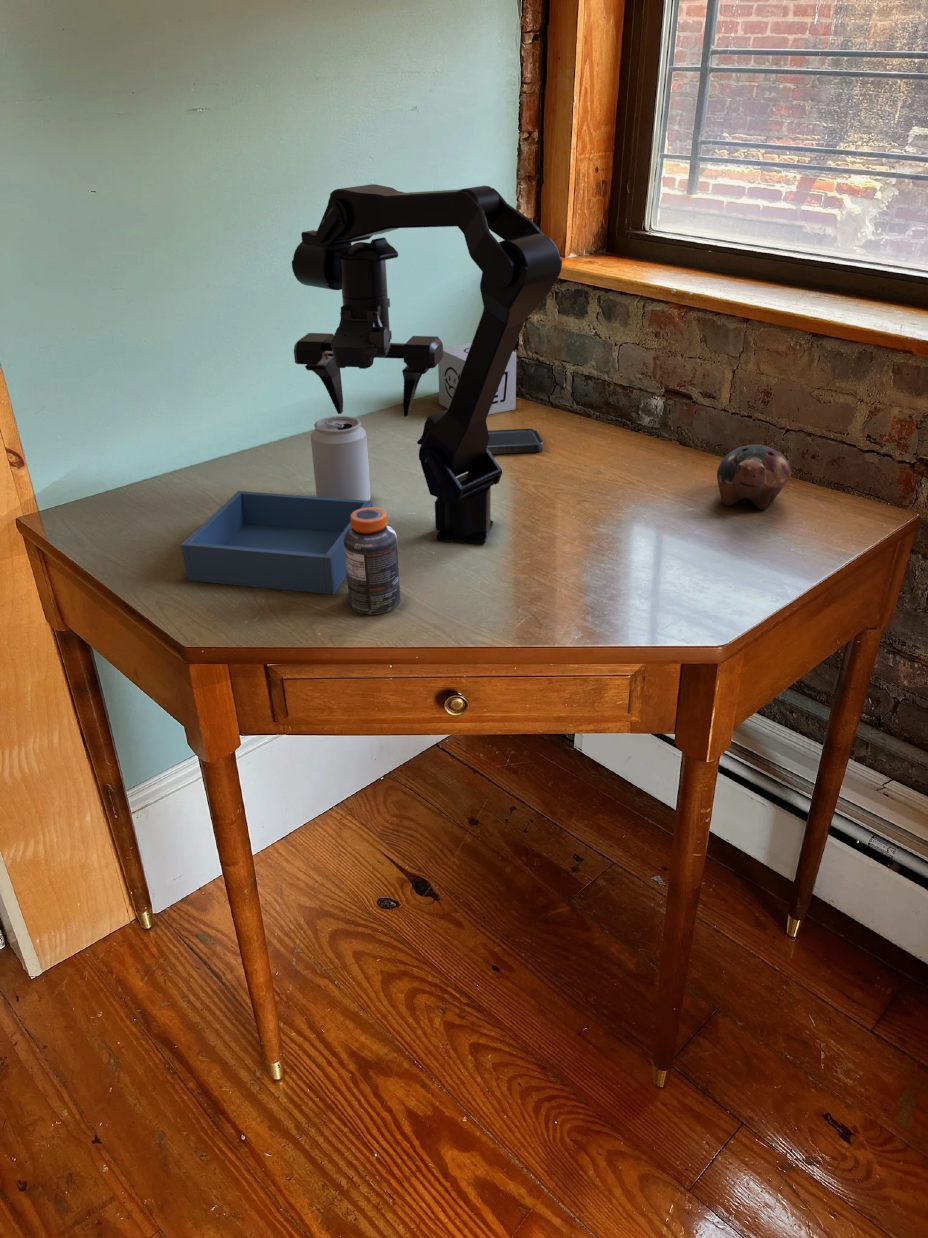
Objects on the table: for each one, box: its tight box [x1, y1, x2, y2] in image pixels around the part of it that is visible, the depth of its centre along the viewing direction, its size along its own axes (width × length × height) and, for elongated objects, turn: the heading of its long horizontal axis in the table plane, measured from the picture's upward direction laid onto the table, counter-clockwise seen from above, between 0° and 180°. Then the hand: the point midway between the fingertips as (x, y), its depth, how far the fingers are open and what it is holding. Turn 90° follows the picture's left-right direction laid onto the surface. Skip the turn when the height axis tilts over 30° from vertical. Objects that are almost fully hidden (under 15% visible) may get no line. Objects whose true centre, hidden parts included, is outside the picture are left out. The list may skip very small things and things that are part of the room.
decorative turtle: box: [716, 444, 791, 511], centre depth 132 cm, size 10×15×8 cm, turn 163°
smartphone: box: [487, 428, 544, 455], centre depth 154 cm, size 8×1×15 cm
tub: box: [180, 490, 373, 595], centre depth 120 cm, size 19×17×5 cm
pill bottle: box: [344, 506, 402, 615], centre depth 107 cm, size 6×6×11 cm
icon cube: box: [437, 342, 517, 416], centre depth 169 cm, size 10×10×10 cm
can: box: [310, 415, 371, 501], centre depth 132 cm, size 8×8×12 cm
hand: (373, 414), depth 129 cm, fingers open, 9 cm apart
